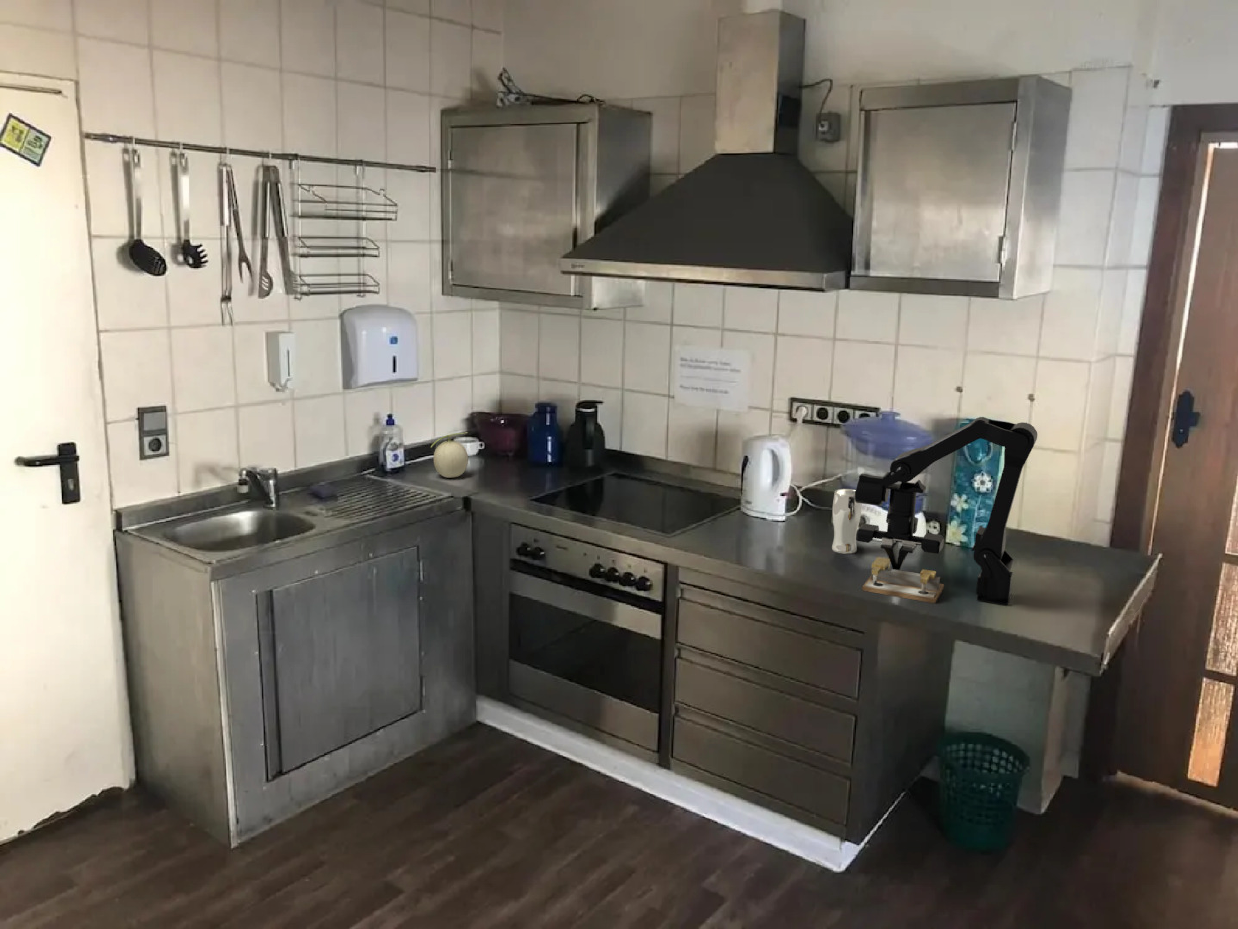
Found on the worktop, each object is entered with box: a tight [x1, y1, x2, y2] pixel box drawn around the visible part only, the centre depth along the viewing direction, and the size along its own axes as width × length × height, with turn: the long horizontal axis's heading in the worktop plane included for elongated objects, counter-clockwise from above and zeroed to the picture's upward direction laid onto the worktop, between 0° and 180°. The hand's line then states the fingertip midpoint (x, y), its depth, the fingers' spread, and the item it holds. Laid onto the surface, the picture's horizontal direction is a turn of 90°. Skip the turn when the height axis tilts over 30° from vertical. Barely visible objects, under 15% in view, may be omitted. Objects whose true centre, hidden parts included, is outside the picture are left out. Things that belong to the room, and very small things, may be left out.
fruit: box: [430, 431, 469, 479], centre depth 319 cm, size 10×12×15 cm
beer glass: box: [831, 488, 863, 555], centre depth 256 cm, size 7×7×15 cm
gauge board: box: [861, 568, 945, 604], centre depth 231 cm, size 16×10×5 cm, turn 63°
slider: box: [870, 556, 891, 584], centre depth 234 cm, size 3×9×4 cm, turn 153°
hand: (896, 573), depth 236 cm, fingers closed
